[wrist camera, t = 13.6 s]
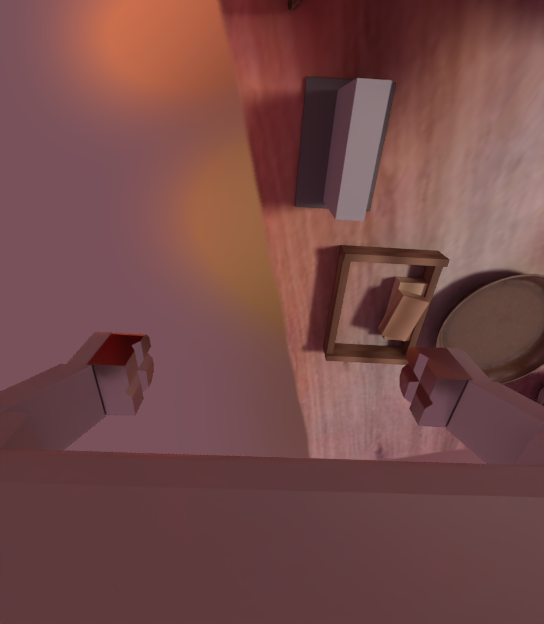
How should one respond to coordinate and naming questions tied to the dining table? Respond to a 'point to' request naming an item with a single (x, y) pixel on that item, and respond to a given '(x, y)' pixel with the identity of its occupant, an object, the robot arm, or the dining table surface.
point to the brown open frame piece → (347, 254)
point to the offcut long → (408, 285)
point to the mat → (324, 140)
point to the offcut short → (402, 315)
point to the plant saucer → (500, 327)
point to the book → (293, 4)
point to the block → (355, 146)
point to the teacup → (541, 397)
